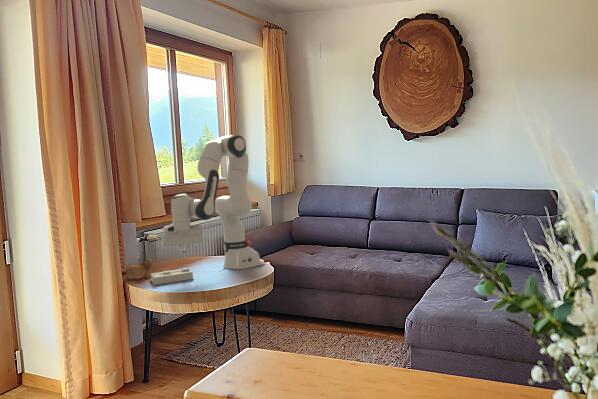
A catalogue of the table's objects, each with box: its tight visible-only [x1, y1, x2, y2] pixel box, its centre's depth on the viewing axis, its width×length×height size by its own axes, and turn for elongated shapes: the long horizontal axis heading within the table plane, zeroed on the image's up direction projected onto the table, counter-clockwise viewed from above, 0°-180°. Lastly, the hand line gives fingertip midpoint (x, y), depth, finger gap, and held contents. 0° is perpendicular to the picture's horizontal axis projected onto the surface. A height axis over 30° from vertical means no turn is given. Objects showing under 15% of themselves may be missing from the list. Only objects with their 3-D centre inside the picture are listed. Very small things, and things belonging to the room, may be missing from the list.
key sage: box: [162, 270, 171, 275], centre depth 257 cm, size 3×3×3 cm
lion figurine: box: [125, 258, 154, 280], centre depth 269 cm, size 15×5×9 cm, turn 119°
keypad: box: [150, 267, 194, 287], centre depth 258 cm, size 19×12×4 cm, turn 114°
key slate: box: [180, 267, 190, 272], centre depth 261 cm, size 3×3×3 cm
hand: (183, 253), depth 260 cm, fingers closed
